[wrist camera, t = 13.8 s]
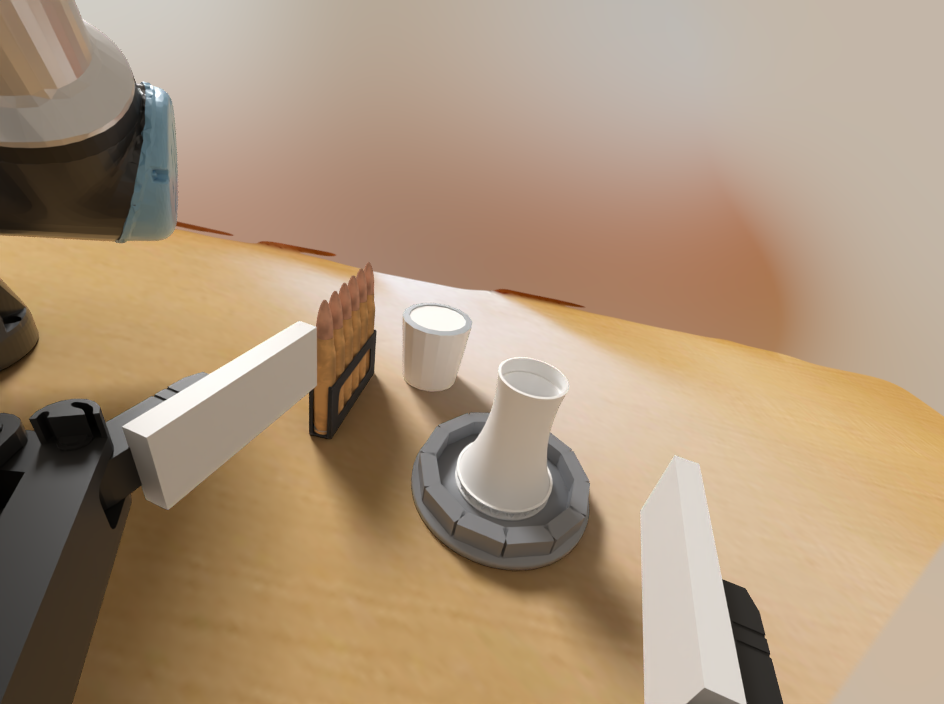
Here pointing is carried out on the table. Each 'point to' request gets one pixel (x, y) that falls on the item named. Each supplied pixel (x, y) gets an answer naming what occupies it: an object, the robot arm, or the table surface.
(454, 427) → the socket ring
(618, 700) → the table surface
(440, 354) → the shot glass
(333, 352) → the ammunition clip
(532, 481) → the vase
